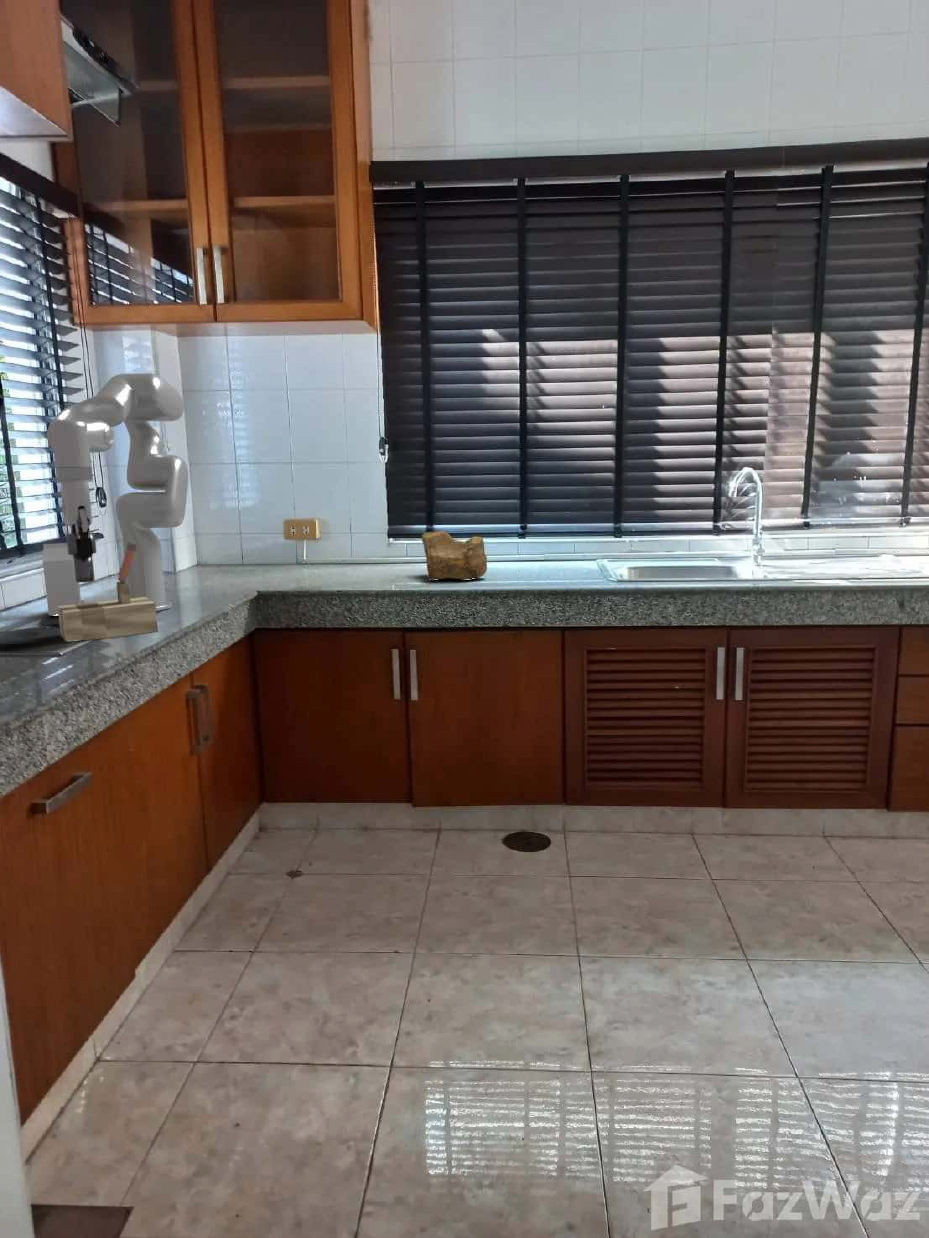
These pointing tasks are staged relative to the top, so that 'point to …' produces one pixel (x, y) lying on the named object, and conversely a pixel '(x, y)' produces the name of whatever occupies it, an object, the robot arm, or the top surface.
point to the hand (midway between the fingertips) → (82, 553)
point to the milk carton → (59, 577)
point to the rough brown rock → (454, 556)
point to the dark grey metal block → (81, 559)
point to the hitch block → (108, 617)
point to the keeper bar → (127, 562)
